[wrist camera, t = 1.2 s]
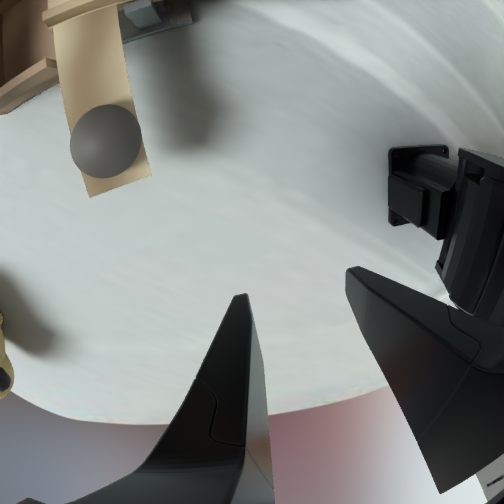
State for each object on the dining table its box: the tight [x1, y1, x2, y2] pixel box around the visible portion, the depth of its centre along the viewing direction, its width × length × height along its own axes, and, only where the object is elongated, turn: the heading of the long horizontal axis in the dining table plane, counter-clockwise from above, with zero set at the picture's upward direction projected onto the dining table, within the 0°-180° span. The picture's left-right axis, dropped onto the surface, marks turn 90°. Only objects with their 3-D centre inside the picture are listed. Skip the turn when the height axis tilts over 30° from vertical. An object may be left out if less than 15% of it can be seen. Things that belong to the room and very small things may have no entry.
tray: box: [0, 0, 60, 115], centre depth 9 cm, size 7×10×4 cm
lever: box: [42, 0, 162, 198], centre depth 10 cm, size 15×16×2 cm
